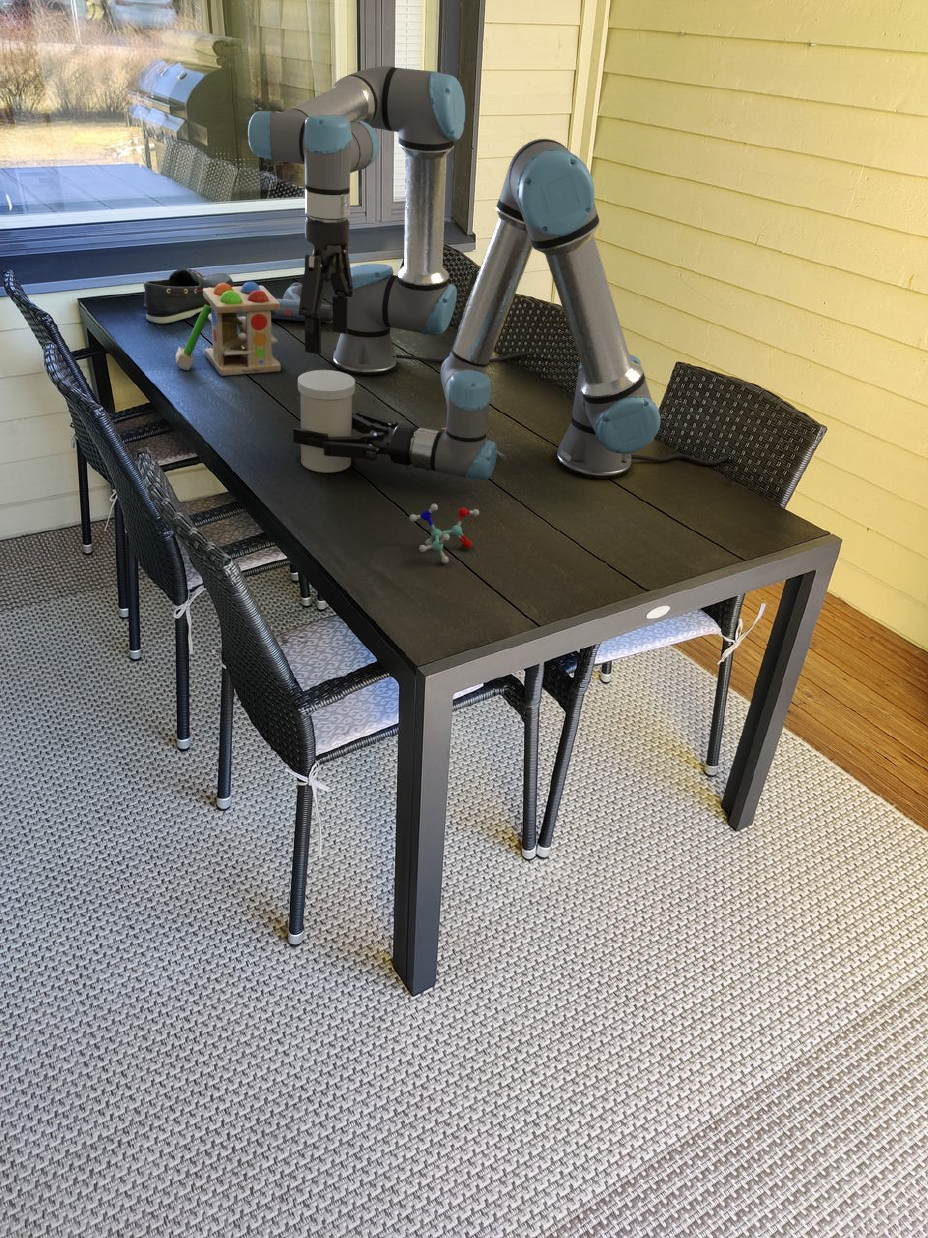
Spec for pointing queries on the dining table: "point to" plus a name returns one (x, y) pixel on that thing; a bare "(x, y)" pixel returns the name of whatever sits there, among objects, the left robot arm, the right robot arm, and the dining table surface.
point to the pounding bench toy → (229, 347)
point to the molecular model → (437, 533)
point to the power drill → (297, 306)
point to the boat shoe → (179, 295)
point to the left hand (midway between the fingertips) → (326, 342)
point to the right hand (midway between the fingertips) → (305, 425)
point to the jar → (325, 430)
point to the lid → (326, 384)
